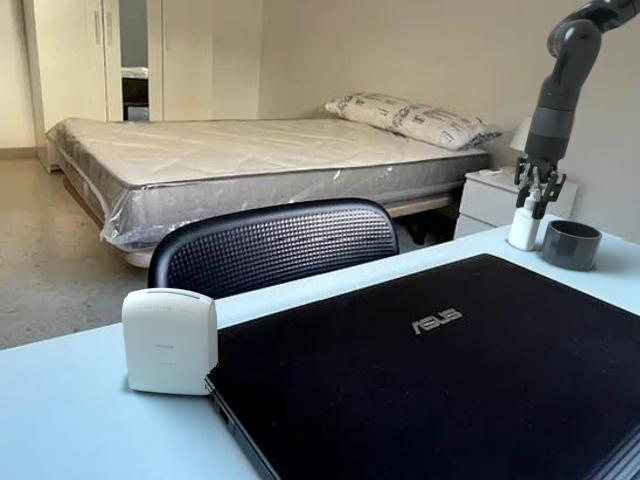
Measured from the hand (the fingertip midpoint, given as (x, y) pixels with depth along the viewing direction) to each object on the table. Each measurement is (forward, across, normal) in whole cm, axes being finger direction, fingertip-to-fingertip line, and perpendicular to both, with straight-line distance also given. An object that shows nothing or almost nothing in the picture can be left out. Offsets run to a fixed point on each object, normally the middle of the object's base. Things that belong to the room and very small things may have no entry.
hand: (528, 213), depth 103 cm
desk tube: (+7, -7, -6) cm, 12 cm away
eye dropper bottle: (+8, 0, 0) cm, 8 cm away
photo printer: (+8, -40, +67) cm, 78 cm away
